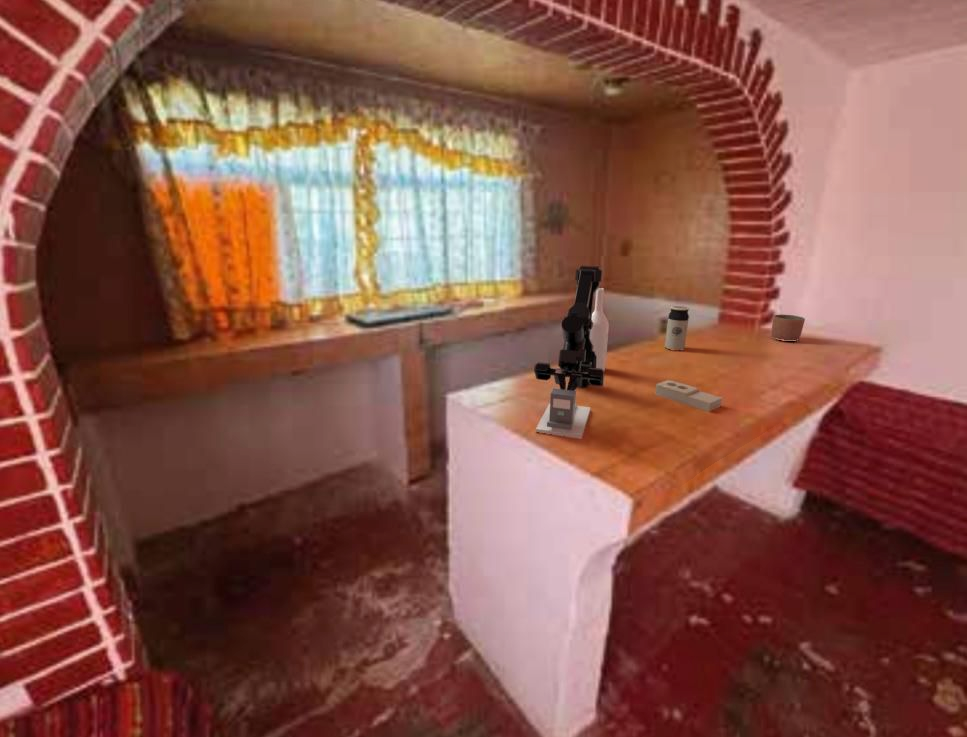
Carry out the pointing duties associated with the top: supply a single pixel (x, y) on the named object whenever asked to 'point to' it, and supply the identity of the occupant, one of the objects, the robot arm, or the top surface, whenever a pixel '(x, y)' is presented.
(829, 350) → the top surface
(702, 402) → the grey stepped block
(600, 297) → the bottle
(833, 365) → the top surface
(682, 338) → the travel mug
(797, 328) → the planter
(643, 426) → the top surface
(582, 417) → the rail plate
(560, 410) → the plate
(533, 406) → the top surface
